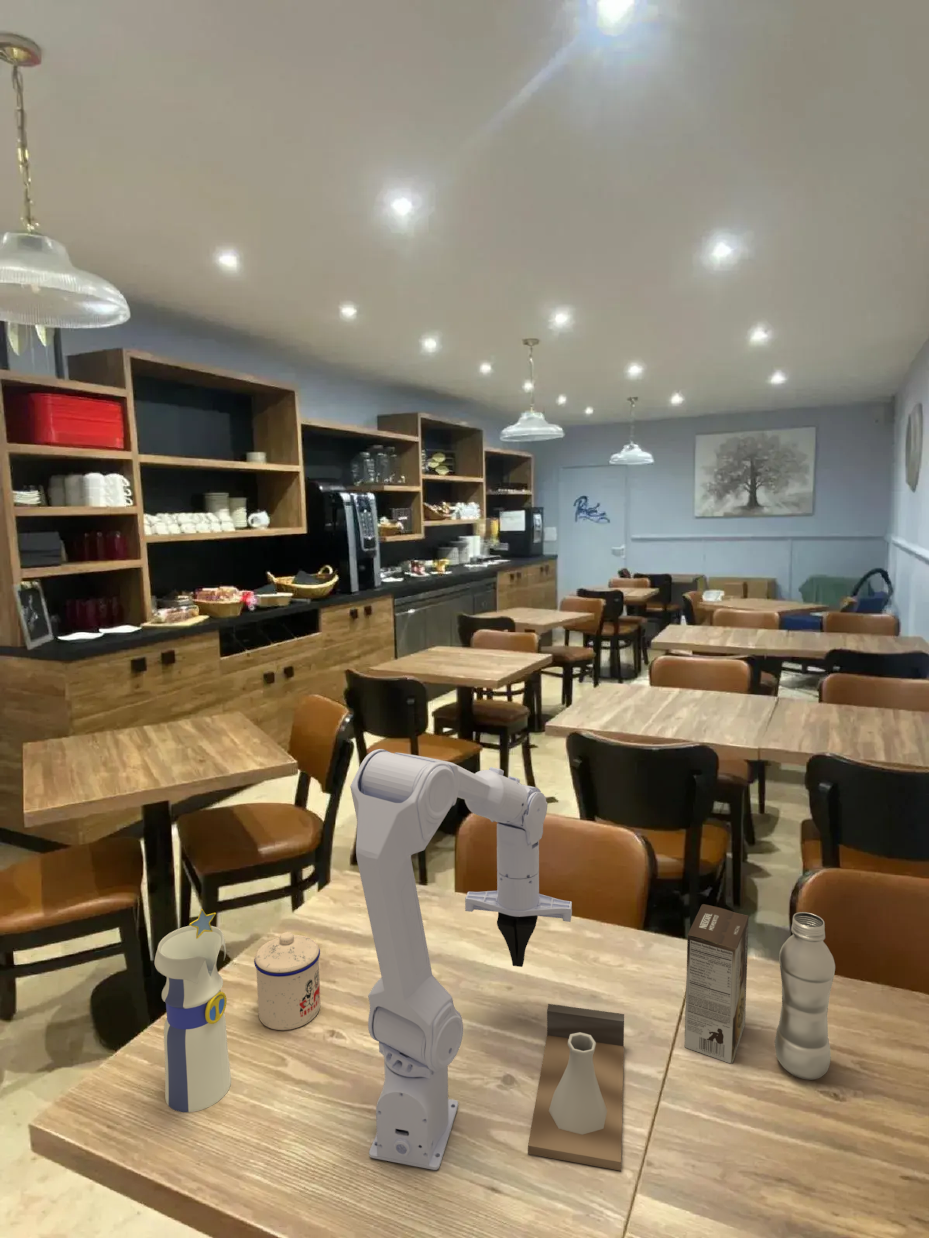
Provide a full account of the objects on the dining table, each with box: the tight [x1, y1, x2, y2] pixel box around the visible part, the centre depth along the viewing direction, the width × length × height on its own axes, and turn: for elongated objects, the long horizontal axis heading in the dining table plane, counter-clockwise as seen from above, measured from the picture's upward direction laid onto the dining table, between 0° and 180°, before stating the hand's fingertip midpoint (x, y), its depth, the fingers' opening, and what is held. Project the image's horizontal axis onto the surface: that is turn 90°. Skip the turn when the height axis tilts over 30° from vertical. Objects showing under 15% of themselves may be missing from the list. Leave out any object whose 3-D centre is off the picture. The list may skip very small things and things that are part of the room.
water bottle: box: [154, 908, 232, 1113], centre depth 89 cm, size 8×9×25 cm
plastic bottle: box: [774, 911, 836, 1081], centre depth 91 cm, size 6×7×20 cm
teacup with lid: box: [253, 931, 321, 1031], centre depth 105 cm, size 12×9×12 cm
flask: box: [549, 1032, 607, 1135], centre depth 84 cm, size 7×7×10 cm
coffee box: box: [684, 903, 750, 1064], centre depth 98 cm, size 9×6×16 cm
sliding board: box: [527, 1003, 625, 1172], centre depth 88 cm, size 20×10×4 cm, turn 167°
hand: (518, 962), depth 101 cm, fingers closed
